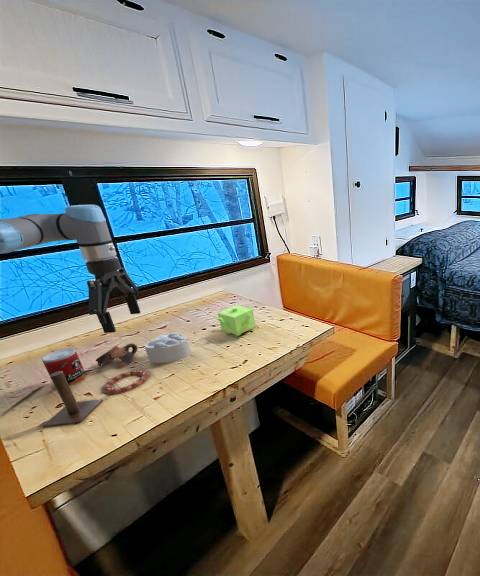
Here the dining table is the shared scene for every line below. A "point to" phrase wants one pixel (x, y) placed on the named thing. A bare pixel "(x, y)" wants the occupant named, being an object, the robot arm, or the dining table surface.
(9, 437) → the dining table surface
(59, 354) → the canned food
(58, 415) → the post
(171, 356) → the lumpy-topped squat cylinder
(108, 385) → the ring
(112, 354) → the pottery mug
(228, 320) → the knobby lime green cube
